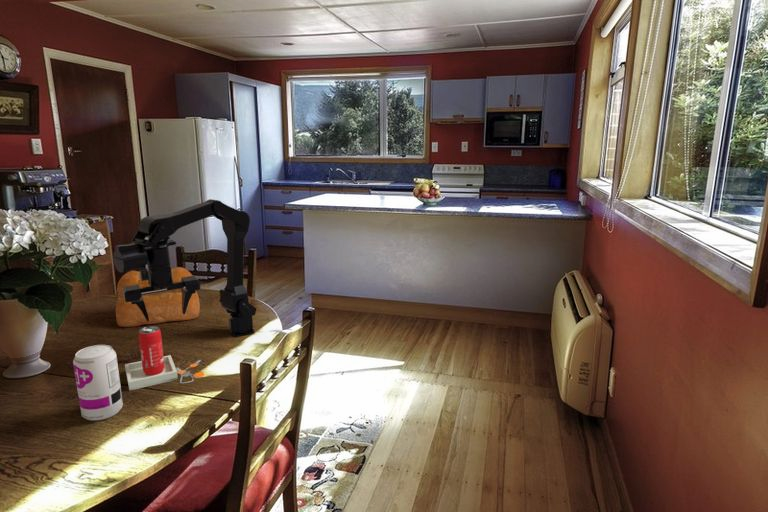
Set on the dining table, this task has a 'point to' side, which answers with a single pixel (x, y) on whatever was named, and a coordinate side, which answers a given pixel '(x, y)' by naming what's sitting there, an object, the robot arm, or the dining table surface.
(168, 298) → the bread
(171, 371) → the tray
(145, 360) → the beverage can
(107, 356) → the supplement can
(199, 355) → the dining table surface
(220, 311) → the dining table surface
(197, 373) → the key chain
